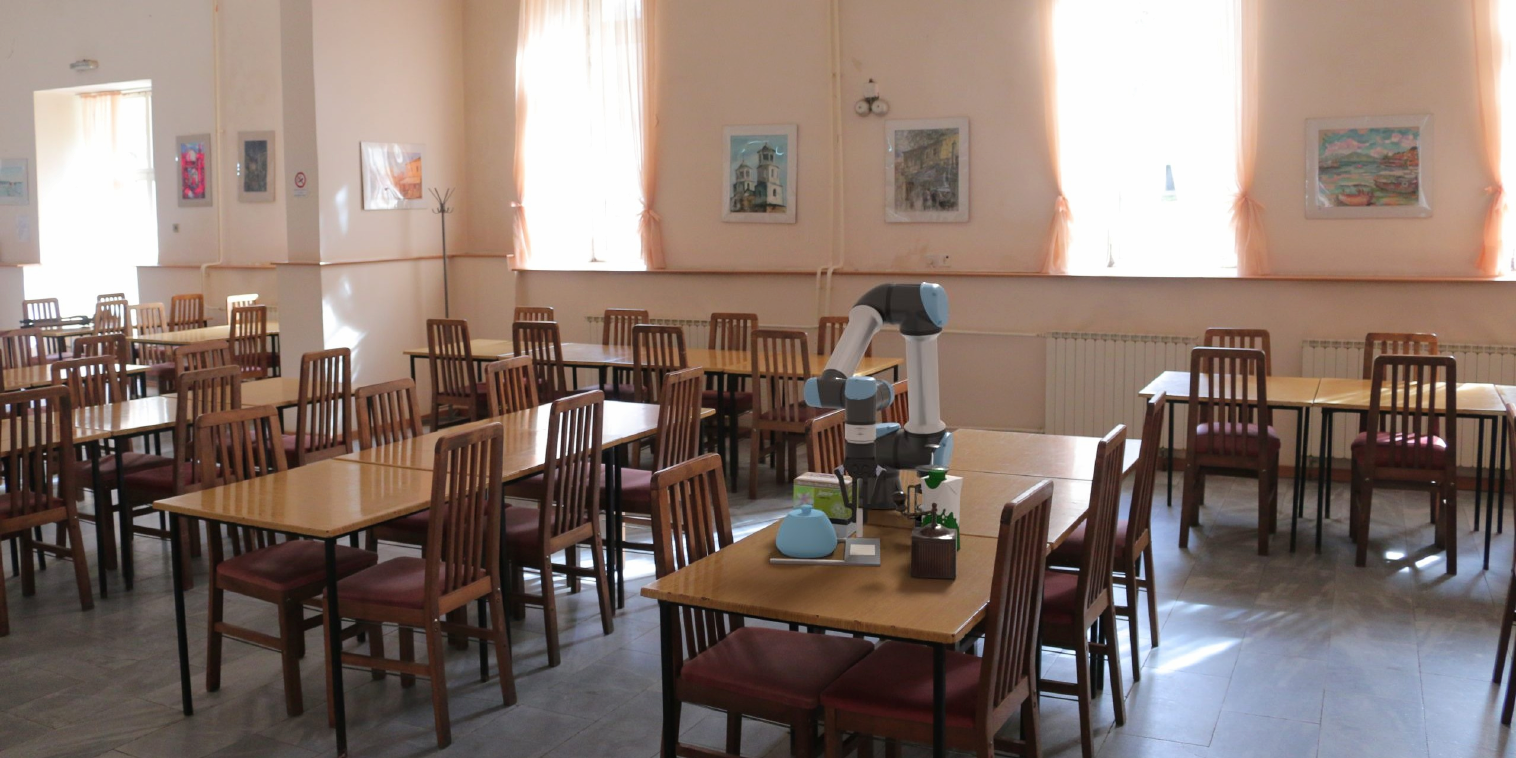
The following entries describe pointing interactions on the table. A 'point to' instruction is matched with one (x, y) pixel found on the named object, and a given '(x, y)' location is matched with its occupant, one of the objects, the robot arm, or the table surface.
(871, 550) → the label board
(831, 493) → the tea box
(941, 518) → the milk carton
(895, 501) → the brown manual coffee grinder
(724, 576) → the table surface
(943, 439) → the robot arm
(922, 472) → the french press
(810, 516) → the sugar bowl
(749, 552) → the table surface
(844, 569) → the table surface
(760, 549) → the table surface
